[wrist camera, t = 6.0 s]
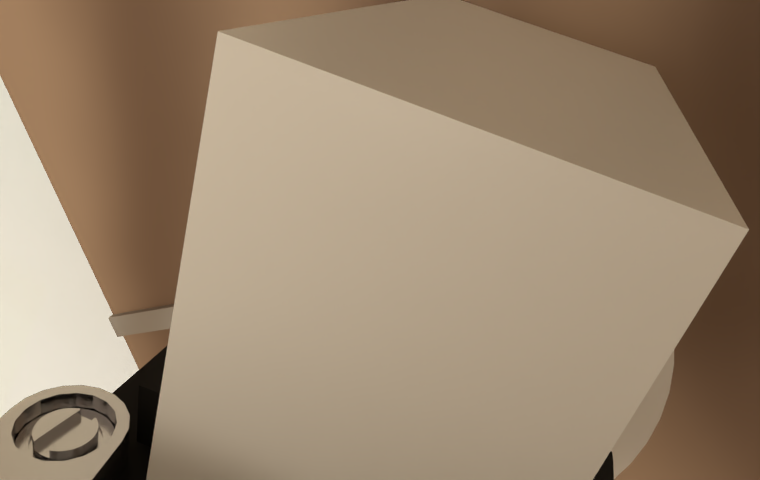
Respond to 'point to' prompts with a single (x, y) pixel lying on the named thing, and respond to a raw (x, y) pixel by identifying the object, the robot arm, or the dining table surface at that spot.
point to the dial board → (277, 3)
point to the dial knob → (432, 253)
